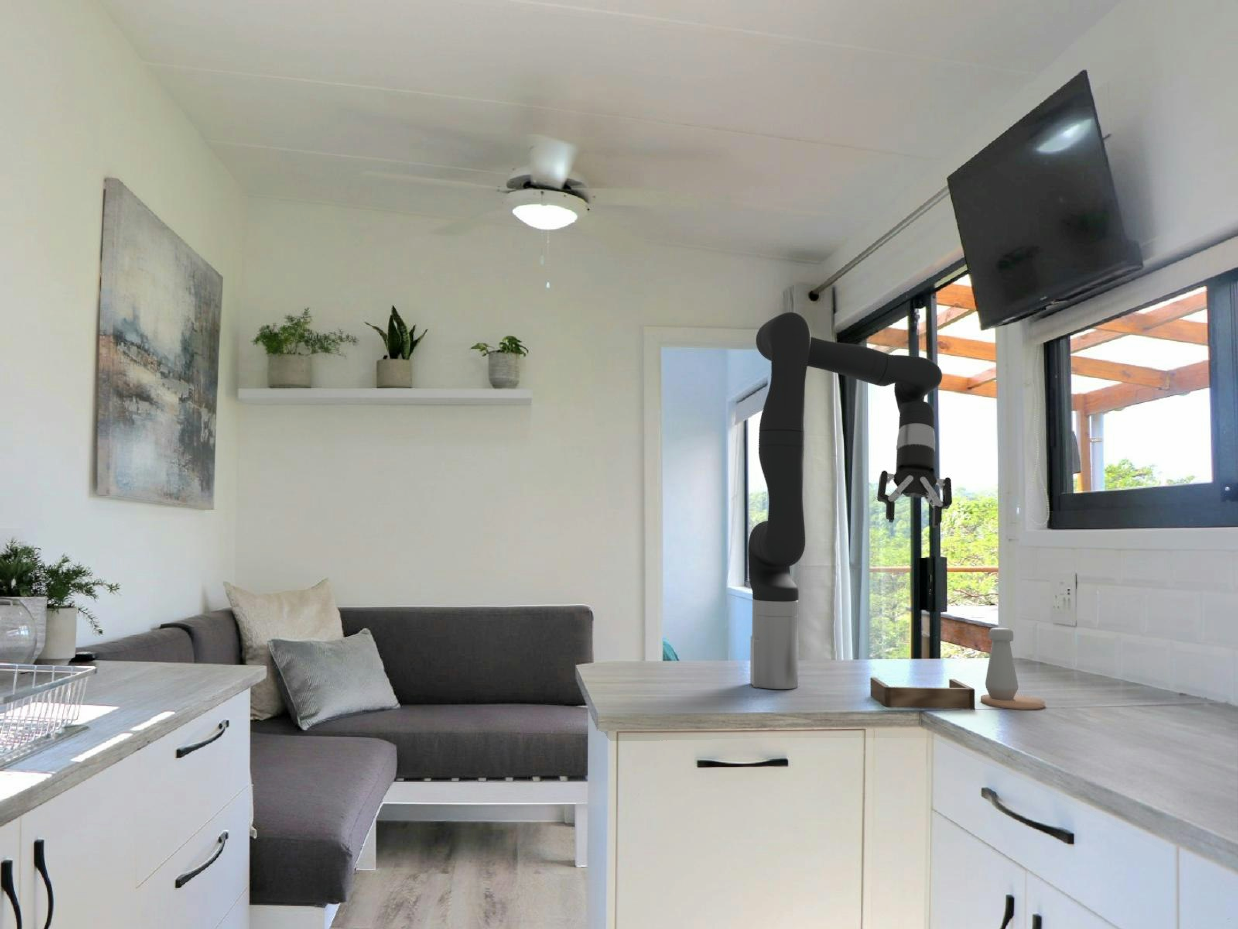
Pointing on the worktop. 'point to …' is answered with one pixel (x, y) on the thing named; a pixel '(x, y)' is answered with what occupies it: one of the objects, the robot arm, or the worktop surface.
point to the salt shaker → (1001, 666)
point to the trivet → (1014, 702)
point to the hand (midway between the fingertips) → (913, 523)
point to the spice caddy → (924, 695)
